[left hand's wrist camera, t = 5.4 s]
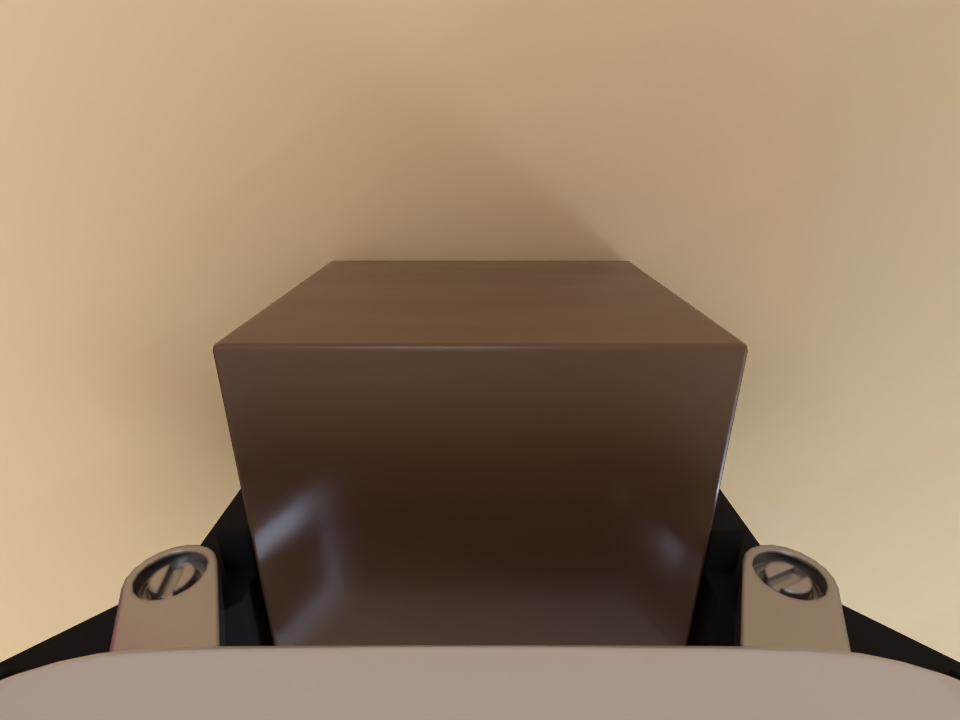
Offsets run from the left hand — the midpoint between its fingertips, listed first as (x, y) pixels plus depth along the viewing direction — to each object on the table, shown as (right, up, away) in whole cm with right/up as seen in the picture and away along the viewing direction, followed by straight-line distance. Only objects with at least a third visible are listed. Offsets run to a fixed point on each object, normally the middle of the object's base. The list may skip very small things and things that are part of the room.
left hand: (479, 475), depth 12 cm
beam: (0, -22, +10) cm, 25 cm away
